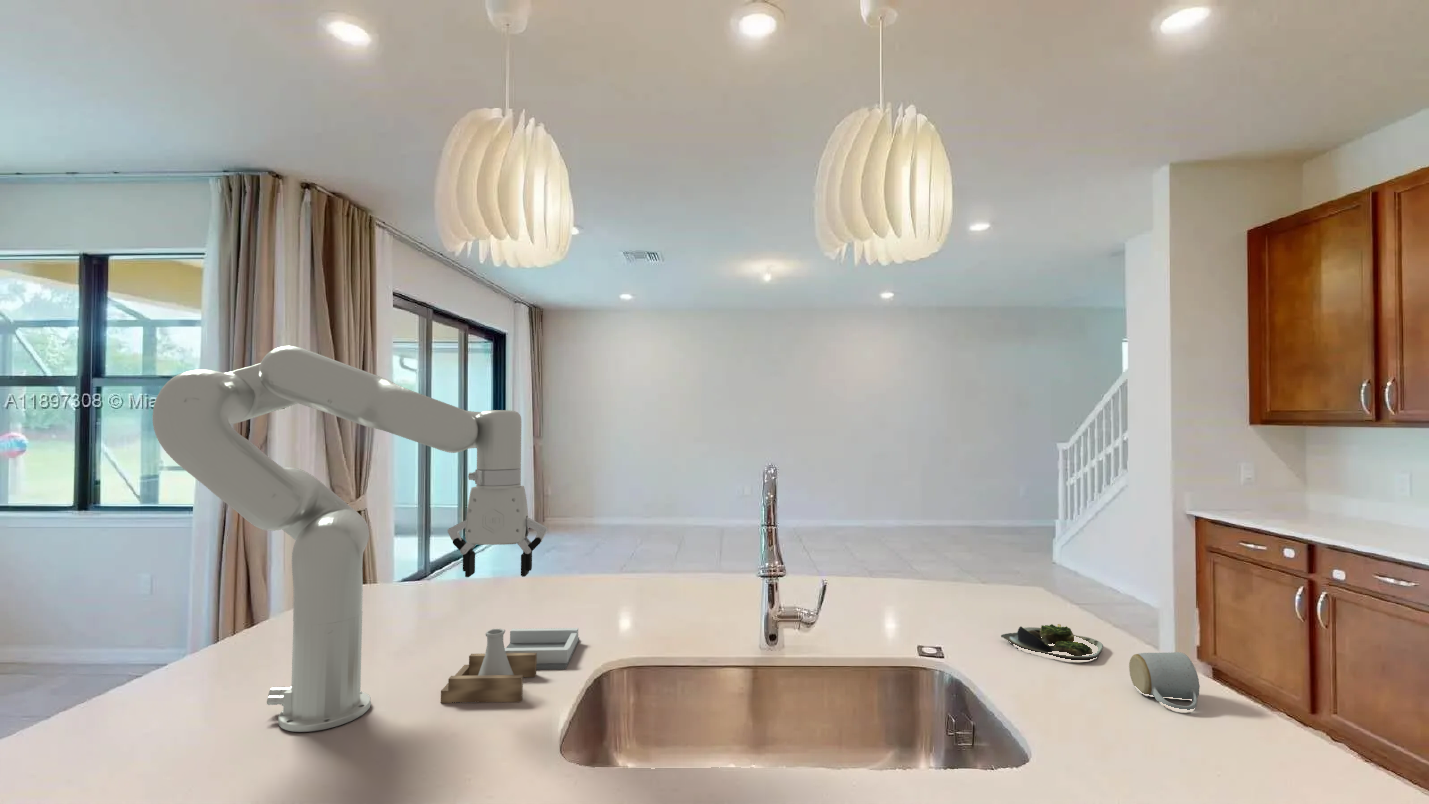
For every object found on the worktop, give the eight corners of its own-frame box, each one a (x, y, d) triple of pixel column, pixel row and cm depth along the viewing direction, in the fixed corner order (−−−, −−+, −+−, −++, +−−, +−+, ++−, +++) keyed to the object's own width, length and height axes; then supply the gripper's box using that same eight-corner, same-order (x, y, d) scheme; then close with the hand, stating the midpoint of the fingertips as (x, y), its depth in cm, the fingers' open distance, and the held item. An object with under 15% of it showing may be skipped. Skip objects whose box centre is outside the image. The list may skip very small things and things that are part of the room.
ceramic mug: (1126, 686, 113) (1125, 643, 113) (1176, 689, 112) (1175, 646, 112) (1157, 714, 102) (1157, 667, 103) (1213, 718, 101) (1212, 670, 101)
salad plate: (1026, 626, 147) (1025, 607, 147) (1114, 646, 134) (1113, 624, 135) (994, 647, 133) (994, 625, 133) (1089, 671, 121) (1089, 647, 121)
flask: (502, 699, 106) (503, 639, 106) (464, 695, 108) (465, 636, 108) (523, 681, 113) (524, 626, 113) (487, 678, 115) (488, 623, 115)
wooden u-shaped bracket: (440, 703, 104) (441, 678, 104) (464, 675, 116) (464, 653, 116) (520, 701, 105) (521, 677, 105) (536, 674, 116) (536, 652, 116)
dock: (491, 670, 118) (491, 653, 118) (513, 640, 134) (513, 626, 134) (565, 669, 119) (565, 652, 119) (579, 640, 135) (579, 625, 135)
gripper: (441, 481, 107) (439, 581, 107) (543, 480, 108) (542, 580, 108) (457, 477, 115) (455, 570, 114) (551, 477, 116) (551, 569, 115)
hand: (497, 575), depth 111 cm, fingers open, 9 cm apart
